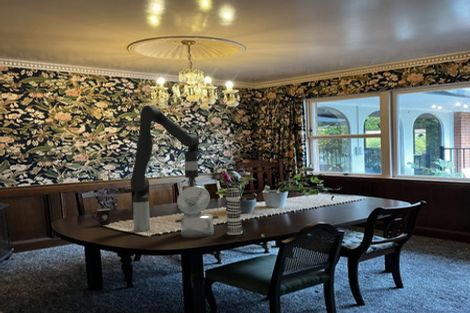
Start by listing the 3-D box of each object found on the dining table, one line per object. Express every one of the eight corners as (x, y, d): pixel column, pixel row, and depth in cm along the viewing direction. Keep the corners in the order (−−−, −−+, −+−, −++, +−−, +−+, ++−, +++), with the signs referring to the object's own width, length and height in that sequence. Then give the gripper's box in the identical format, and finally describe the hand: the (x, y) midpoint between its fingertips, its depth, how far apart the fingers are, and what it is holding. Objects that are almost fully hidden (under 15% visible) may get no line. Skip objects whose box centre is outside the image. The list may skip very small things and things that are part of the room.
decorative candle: (233, 230, 249) (231, 187, 248) (246, 232, 243) (244, 187, 242) (223, 233, 242) (220, 188, 241) (235, 235, 236) (233, 189, 235)
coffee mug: (113, 223, 294) (112, 208, 293) (108, 225, 285) (107, 210, 285) (97, 223, 295) (96, 208, 295) (91, 226, 286) (90, 211, 286)
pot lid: (178, 188, 241) (177, 185, 243) (176, 217, 251) (175, 214, 253) (211, 185, 247) (210, 182, 249) (208, 213, 257) (207, 210, 259)
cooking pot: (179, 239, 233) (178, 220, 232) (173, 233, 250) (172, 216, 249) (222, 234, 240) (221, 216, 240) (213, 228, 257) (212, 212, 257)
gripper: (182, 168, 256) (183, 197, 257) (187, 170, 244) (188, 201, 245) (195, 167, 259) (196, 196, 260) (200, 169, 246) (201, 200, 247)
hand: (192, 198), depth 252 cm, fingers closed
